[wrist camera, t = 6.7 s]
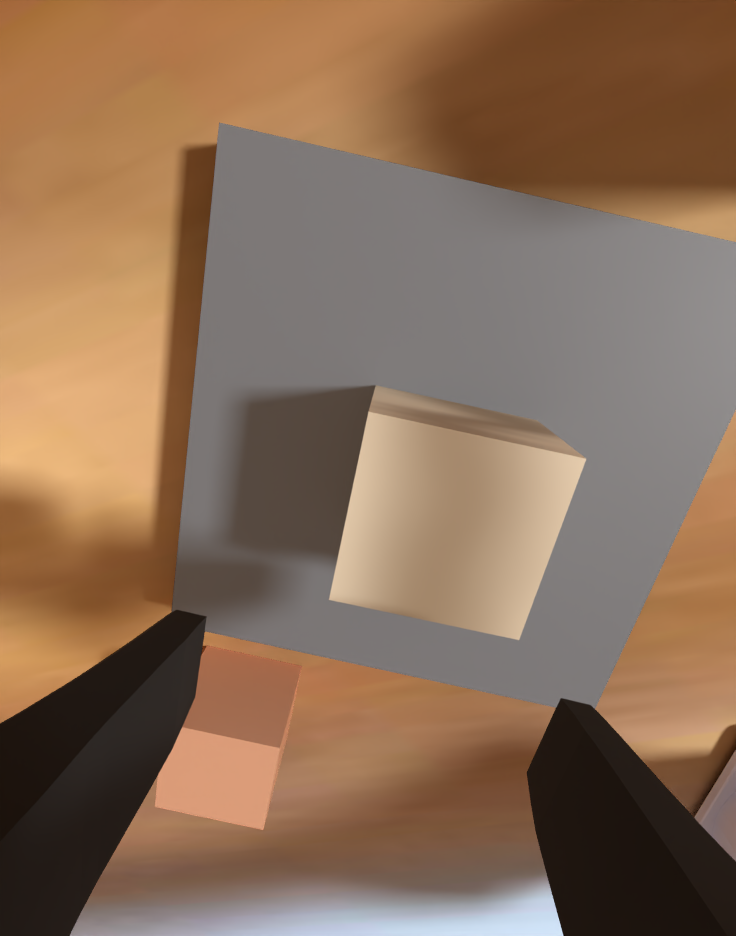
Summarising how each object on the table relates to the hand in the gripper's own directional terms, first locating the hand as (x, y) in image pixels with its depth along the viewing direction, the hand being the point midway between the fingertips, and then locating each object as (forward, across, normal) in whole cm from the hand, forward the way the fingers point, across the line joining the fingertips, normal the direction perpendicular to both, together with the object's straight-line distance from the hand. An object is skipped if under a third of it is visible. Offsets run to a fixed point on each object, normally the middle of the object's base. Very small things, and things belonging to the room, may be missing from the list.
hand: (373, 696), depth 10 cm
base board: (+8, -1, -3) cm, 9 cm away
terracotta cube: (+8, +4, +9) cm, 13 cm away
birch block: (+7, -1, -2) cm, 7 cm away
